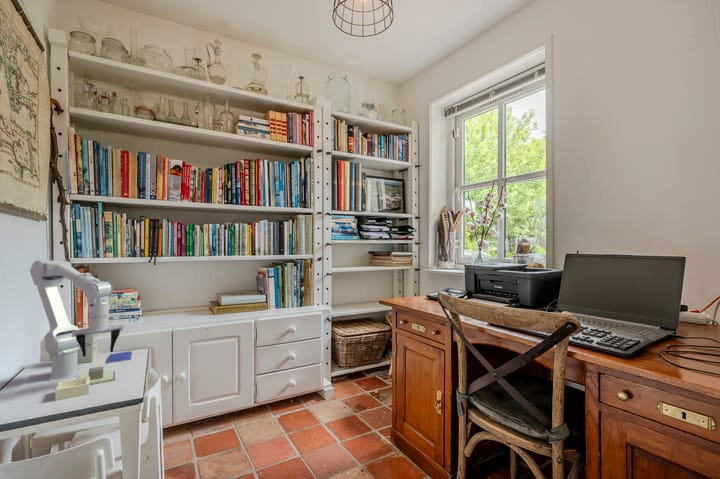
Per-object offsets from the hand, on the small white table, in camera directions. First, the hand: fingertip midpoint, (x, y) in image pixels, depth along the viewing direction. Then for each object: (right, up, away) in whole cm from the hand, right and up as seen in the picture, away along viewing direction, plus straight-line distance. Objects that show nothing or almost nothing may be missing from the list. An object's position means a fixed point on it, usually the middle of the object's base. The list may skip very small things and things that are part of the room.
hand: (98, 353), depth 120 cm
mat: (-1, -10, 0) cm, 10 cm away
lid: (-1, -9, 0) cm, 9 cm away
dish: (+1, -9, -11) cm, 15 cm away
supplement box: (-22, -10, +21) cm, 33 cm away
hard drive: (-9, -11, +24) cm, 28 cm away
